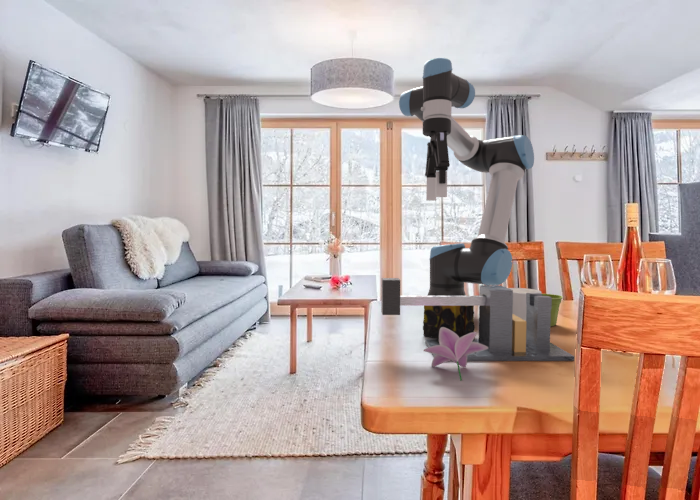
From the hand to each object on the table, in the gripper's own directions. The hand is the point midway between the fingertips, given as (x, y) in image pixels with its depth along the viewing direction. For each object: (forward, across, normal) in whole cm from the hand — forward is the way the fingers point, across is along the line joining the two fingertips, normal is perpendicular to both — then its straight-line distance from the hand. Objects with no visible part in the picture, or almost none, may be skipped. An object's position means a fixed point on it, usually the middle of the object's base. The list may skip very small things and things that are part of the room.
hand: (436, 199), depth 115 cm
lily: (+37, +33, -2) cm, 49 cm away
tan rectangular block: (+36, +18, +15) cm, 43 cm away
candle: (+37, +4, +3) cm, 37 cm away
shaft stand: (+37, +18, +10) cm, 42 cm away
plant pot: (+37, -10, +35) cm, 52 cm away
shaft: (+28, +18, -3) cm, 33 cm away
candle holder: (+37, +2, +23) cm, 44 cm away
